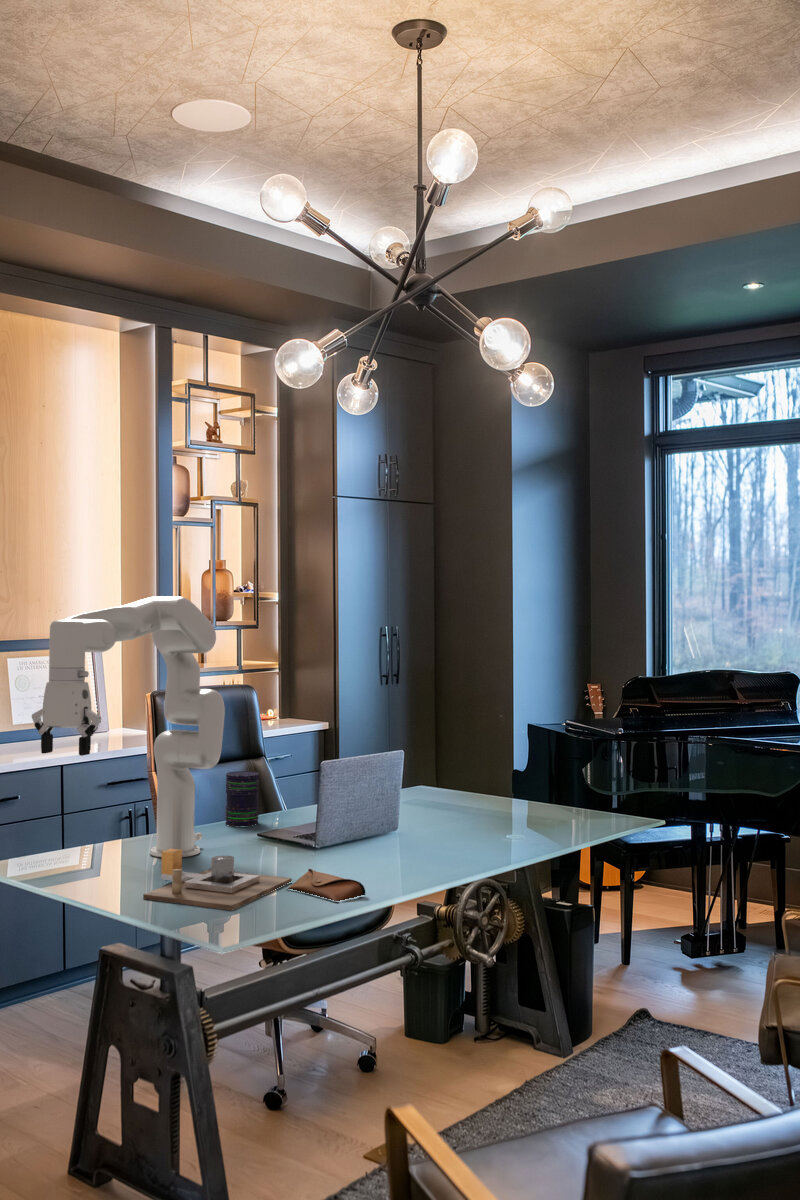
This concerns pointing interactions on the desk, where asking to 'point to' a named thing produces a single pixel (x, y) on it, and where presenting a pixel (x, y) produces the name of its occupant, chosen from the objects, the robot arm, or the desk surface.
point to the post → (222, 869)
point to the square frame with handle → (201, 875)
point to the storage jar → (242, 798)
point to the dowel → (176, 881)
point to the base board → (218, 893)
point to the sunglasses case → (328, 886)
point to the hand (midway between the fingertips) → (65, 753)
